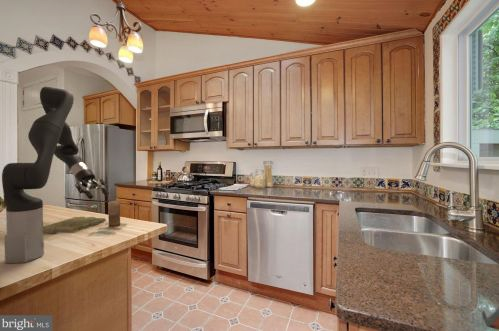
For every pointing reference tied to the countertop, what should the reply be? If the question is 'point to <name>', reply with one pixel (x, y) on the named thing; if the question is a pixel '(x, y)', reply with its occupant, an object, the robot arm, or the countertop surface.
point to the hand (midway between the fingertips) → (99, 196)
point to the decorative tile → (72, 225)
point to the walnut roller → (114, 213)
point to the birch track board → (107, 230)
